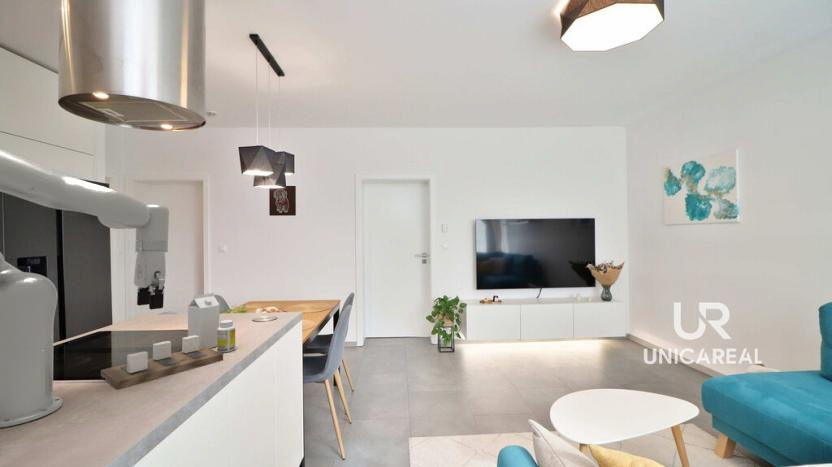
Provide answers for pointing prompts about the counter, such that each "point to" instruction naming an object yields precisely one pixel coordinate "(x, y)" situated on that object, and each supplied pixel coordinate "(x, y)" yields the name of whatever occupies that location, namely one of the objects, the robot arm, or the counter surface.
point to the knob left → (137, 362)
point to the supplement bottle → (226, 336)
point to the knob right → (190, 344)
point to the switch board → (161, 367)
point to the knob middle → (161, 350)
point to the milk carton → (204, 319)
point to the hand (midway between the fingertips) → (149, 306)
